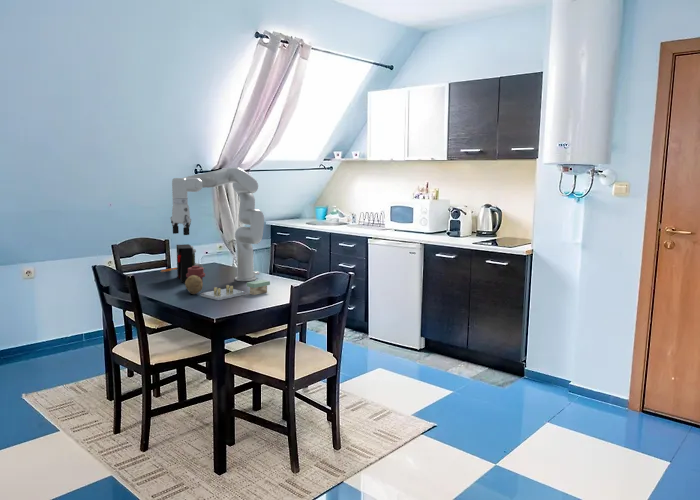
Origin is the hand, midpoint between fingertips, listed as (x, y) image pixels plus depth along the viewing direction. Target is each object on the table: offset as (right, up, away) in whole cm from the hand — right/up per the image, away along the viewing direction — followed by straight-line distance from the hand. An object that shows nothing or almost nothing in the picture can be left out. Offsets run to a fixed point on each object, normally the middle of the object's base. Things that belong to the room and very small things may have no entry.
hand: (181, 234), depth 288 cm
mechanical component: (+5, -30, +12) cm, 32 cm away
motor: (-18, -23, +62) cm, 69 cm away
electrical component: (-8, -26, +36) cm, 45 cm away
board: (+41, -27, +2) cm, 49 cm away
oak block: (+41, -31, +2) cm, 51 cm away
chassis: (+23, -32, -4) cm, 40 cm away
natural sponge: (+8, -32, -2) cm, 32 cm away
